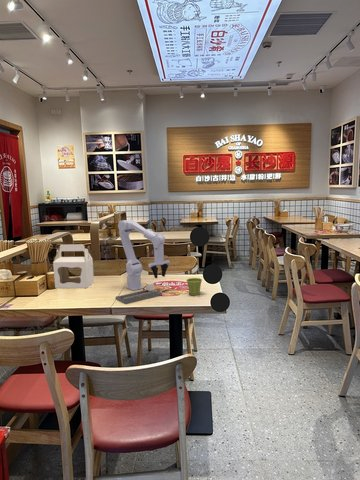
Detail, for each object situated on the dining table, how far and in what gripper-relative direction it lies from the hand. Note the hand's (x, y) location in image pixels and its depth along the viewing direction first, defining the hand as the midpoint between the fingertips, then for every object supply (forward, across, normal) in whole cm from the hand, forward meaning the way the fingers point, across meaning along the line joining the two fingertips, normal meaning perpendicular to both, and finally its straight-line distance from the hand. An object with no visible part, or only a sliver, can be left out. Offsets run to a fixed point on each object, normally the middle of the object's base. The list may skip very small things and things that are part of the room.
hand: (159, 277), depth 205 cm
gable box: (+10, -34, +52) cm, 63 cm away
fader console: (+9, -15, 0) cm, 18 cm away
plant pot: (+10, +13, -17) cm, 23 cm away
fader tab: (+8, -7, 0) cm, 10 cm away
